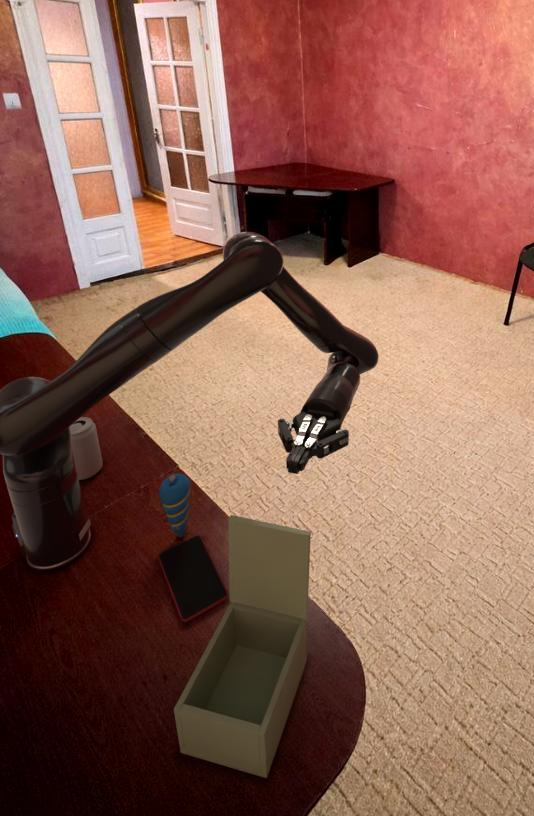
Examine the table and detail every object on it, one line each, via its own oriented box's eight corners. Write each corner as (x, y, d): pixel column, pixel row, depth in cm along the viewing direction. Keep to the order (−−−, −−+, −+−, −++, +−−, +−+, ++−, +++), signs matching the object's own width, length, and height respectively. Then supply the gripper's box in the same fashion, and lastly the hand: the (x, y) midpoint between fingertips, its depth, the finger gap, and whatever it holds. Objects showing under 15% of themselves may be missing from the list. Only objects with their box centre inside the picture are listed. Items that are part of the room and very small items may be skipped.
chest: (266, 778, 59) (264, 734, 56) (180, 753, 60) (173, 709, 57) (307, 660, 71) (306, 619, 68) (234, 641, 73) (231, 601, 70)
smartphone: (199, 533, 89) (229, 595, 79) (199, 537, 90) (230, 599, 79) (156, 553, 85) (182, 622, 74) (157, 557, 85) (183, 626, 74)
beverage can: (109, 462, 106) (101, 417, 102) (89, 484, 100) (79, 436, 96) (82, 459, 106) (73, 413, 102) (60, 480, 100) (49, 433, 96)
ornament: (199, 526, 92) (193, 463, 87) (189, 549, 87) (182, 484, 82) (172, 525, 92) (163, 462, 86) (160, 549, 87) (150, 483, 82)
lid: (308, 536, 64) (310, 531, 65) (227, 518, 66) (230, 514, 66) (305, 619, 68) (307, 614, 68) (229, 601, 69) (232, 596, 70)
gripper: (294, 380, 88) (250, 441, 72) (364, 391, 86) (335, 456, 70) (295, 414, 90) (252, 480, 74) (363, 425, 88) (334, 496, 72)
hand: (292, 468), depth 72 cm, fingers closed
